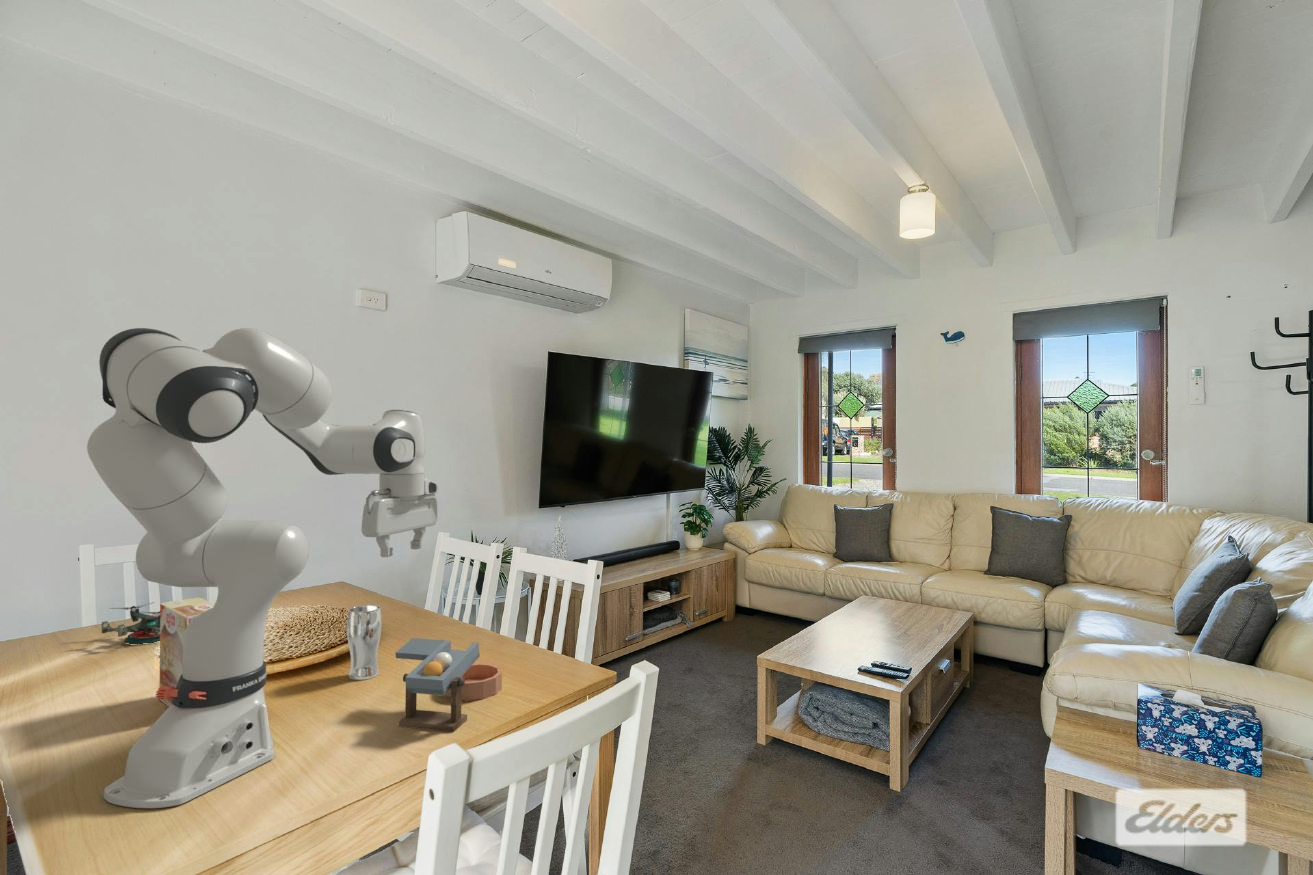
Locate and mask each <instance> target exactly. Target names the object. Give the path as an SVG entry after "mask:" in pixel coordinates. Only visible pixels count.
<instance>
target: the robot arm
mask: <svg viewBox="0 0 1313 875" xmlns="http://www.w3.org/2000/svg"><path fill="white" fill-rule="evenodd" d="M101 348H102V349H101V351H100V355H99V360H98V361H99V362H98V363H99V372H100V376H101V380H102V392H101V394H102V399H103V401H104V403H106V404H107V405H109V406H110V407H111V408H114V409H115V413H114V414H113V415H112V416H111V417H110V418H108V419H107V420H105V421H104V422H102V423H100V424H99V425H98V426H97V427H96V428H95V429H94V430H93V431H92V432H91V434H90V436H89V438H88V440H87V444H86V445H87V446H86V448H87V449H86V451H87V454H88V457H89V459H90V461H91V463H92V464H93V467H94V468H95V470H96V472H97V473H98V475H99V477H100V479H101V480H102V481H103V483H104V485H106V487H107V488H108V489H109V491H110V492H111V493H112V494H113V495H114V497H115V498H116V499H117V500H118V501H119V502H120V503H121V504H122V505H123V506H124V507H125V508H126V509H127V510H128V512H129V513H130V514H131V515H132V516H133V517H134V518H135V519H136V520H137V521H138V522H139V524H140V525H141V526H142V527H143V528H144V530H145V531H146V533H145V535H144V536H143V537H141V539H140V542H138V546H137V548H136V552H135V564H136V567H137V570H138V572H139V574H140V575H141V577H142V578H144V579H145V580H147V581H148V582H150V583H151V582H152V583H157V584H161V585H166V586H170V587H177V588H217V597H216V598H217V599H216V601H215V603H214V604H215V605H214V607H213V608H211V609H209V610H207V611H205V612H203V613H202V614H200V615H198V616H197V617H195V618H194V619H193V620H192V621H191V622H190V623H189V625H188V626H187V627H186V629H185V631H184V634H183V674H182V675H181V676H180V678H179V681H178V683H177V686H176V688H175V687H173V686H172V687H169V686H161V687H160V688H159V687H158V688H157V690H156V692H155V698H156V699H157V700H159V699H166V700H171V699H172V700H171V703H172V704H171V705H170V707H168V708H167V709H166V710H165V711H164V712H162V714H161V715H160V716H159V718H158V719H157V720H155V722H154V723H153V724H152V725H151V726H150V727H149V728H148V729H147V730H146V731H145V733H143V734H142V736H141V737H140V738H139V739H137V741H135V743H134V744H133V745H132V747H130V750H129V752H128V754H127V758H126V764H125V770H124V775H123V776H121V777H119V778H118V779H116V780H115V781H113V782H111V783H110V784H108V785H107V786H106V787H105V788H104V789H103V798H104V799H105V801H106V802H108V803H110V804H113V805H116V806H121V807H127V808H134V809H135V808H136V809H160V808H162V809H163V808H169V807H174V806H175V807H176V806H180V805H183V804H185V803H186V802H189V801H191V800H193V799H195V798H197V797H199V796H201V795H204V794H205V793H207V792H209V791H211V790H213V789H215V788H218V787H220V786H221V785H223V784H225V783H226V782H229V781H231V780H233V779H235V778H238V777H239V776H241V775H244V774H245V773H247V772H249V771H251V770H253V769H255V768H257V767H260V766H262V765H263V764H266V763H268V762H270V761H272V760H273V759H274V758H275V749H274V747H273V746H274V739H273V736H272V733H271V729H270V724H269V723H270V722H269V716H268V709H267V708H268V707H267V703H266V702H267V701H266V696H265V688H264V687H265V686H266V684H267V675H268V672H267V664H266V663H267V662H266V661H264V646H265V644H264V643H265V633H266V632H265V630H266V621H267V617H268V614H269V610H270V608H271V606H272V604H273V602H274V600H275V599H276V597H277V596H278V595H279V593H280V591H282V590H283V588H284V587H286V586H287V585H288V584H290V583H291V582H293V580H296V578H297V577H298V576H300V574H302V572H303V571H304V569H305V567H306V565H307V564H308V563H307V562H308V560H309V557H310V556H309V555H310V545H309V542H308V541H309V540H308V538H307V536H306V535H305V533H304V531H303V530H302V529H301V527H298V526H297V525H293V524H289V523H284V522H278V521H275V520H273V521H272V520H231V519H224V518H222V517H223V516H224V514H225V512H226V510H227V506H228V493H227V489H226V488H225V486H224V484H222V482H221V481H220V480H219V478H218V477H217V476H216V474H215V473H214V471H213V470H212V469H211V467H210V466H209V465H208V464H207V462H206V461H205V460H204V458H203V457H202V456H201V454H200V453H199V452H198V450H197V449H196V448H195V447H194V445H193V443H197V444H198V443H199V444H210V443H214V442H218V441H220V440H223V439H225V438H227V437H228V436H230V435H231V434H232V435H233V433H235V432H236V431H238V429H239V428H241V426H242V425H243V424H244V423H245V422H246V421H247V419H248V418H249V417H250V415H251V413H252V412H254V410H255V411H257V412H259V413H261V414H262V417H263V418H264V420H265V421H266V422H267V423H268V425H270V426H271V427H272V428H273V429H274V430H276V431H277V432H278V433H279V434H280V435H282V436H283V437H285V438H286V440H288V441H290V442H291V443H292V444H294V445H295V446H297V448H299V449H300V450H302V451H303V453H304V454H305V455H306V457H308V459H309V460H310V462H311V463H312V465H313V466H314V467H315V468H316V469H317V470H318V471H319V472H320V473H322V474H325V475H327V476H333V475H335V476H336V475H347V474H349V475H351V474H353V475H354V474H355V475H356V474H359V475H360V474H363V475H373V474H376V475H377V474H378V475H379V478H378V479H379V489H376V490H372V491H370V493H369V494H368V496H367V497H366V498H365V504H364V506H363V511H362V517H361V518H362V520H361V533H362V535H363V536H364V537H365V538H375V542H376V543H377V545H378V547H379V549H380V557H381V558H389V557H392V556H393V555H394V554H393V549H394V548H393V547H391V546H390V544H389V540H390V538H391V537H390V535H395V534H399V533H404V532H409V531H413V533H414V535H413V539H412V540H410V549H411V550H420V549H422V547H423V546H422V545H423V544H422V543H423V542H422V541H423V538H424V536H425V534H426V528H427V527H428V528H429V527H432V526H435V525H436V524H437V521H438V518H439V497H438V495H437V494H438V493H439V490H440V485H439V483H437V482H435V481H432V480H430V479H428V478H425V468H424V462H423V460H424V456H425V449H426V448H425V445H426V444H425V432H424V424H423V421H422V417H421V416H420V415H419V414H418V413H416V412H414V411H411V410H410V411H409V410H404V409H390V410H385V411H384V412H383V414H382V418H381V419H380V420H379V421H377V422H374V423H372V424H371V425H339V424H326V423H325V422H323V421H322V420H320V419H322V417H324V415H325V414H326V412H327V411H328V409H329V407H330V405H331V402H332V397H333V388H332V384H331V381H330V380H329V378H328V376H327V375H326V373H324V372H323V371H322V369H321V368H320V367H318V365H316V364H315V363H313V362H312V361H310V360H309V359H308V358H307V357H306V356H304V355H303V354H301V353H300V352H299V351H298V350H296V349H294V348H293V347H292V346H290V345H288V344H286V343H285V342H283V341H282V340H281V339H278V338H276V337H275V336H273V335H270V334H268V333H266V332H264V331H263V330H259V329H256V328H251V327H243V328H242V327H241V328H236V329H234V330H231V331H229V332H227V333H225V334H224V335H223V336H221V337H220V338H219V339H218V340H217V341H216V342H215V343H214V345H213V346H212V347H211V348H207V349H202V351H201V350H200V349H198V348H197V347H195V346H192V345H191V344H189V343H186V342H184V341H182V340H181V339H180V338H179V337H177V336H175V335H174V334H171V333H168V332H166V331H162V330H159V329H155V328H147V327H136V328H135V327H134V328H129V329H125V330H123V331H120V332H118V333H116V334H114V335H113V336H111V337H110V338H109V339H108V340H107V341H106V342H105V344H104V345H103V347H101ZM192 442H193V443H192Z"/></svg>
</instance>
